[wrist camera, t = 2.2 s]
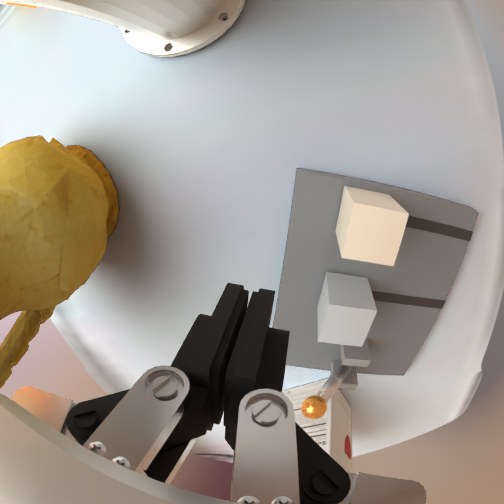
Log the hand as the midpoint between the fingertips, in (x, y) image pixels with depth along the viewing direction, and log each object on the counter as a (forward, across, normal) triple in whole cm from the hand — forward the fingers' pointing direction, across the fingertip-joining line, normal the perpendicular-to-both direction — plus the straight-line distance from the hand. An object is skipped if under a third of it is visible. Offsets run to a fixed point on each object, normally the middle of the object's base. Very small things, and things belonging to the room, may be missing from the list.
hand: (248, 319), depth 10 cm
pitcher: (+17, +24, +3) cm, 30 cm away
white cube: (+15, -7, +8) cm, 18 cm away
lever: (+14, -10, +16) cm, 23 cm away
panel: (+17, -10, +8) cm, 21 cm away
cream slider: (+15, -7, 0) cm, 16 cm away
